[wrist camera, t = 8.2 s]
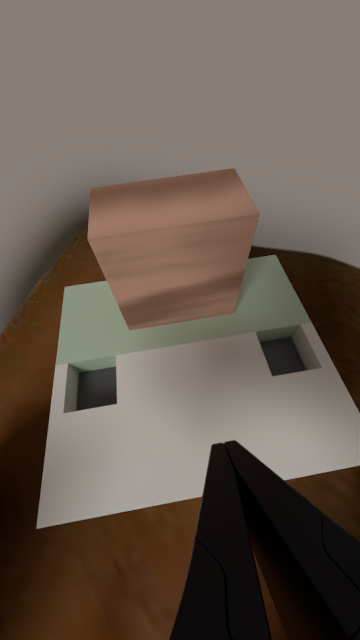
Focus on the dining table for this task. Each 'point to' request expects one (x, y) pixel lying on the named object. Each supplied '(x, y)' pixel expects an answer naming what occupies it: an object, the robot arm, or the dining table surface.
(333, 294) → the dining table surface
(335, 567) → the robot arm
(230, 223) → the terracotta block
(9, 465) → the dining table surface
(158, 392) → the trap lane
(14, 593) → the dining table surface
